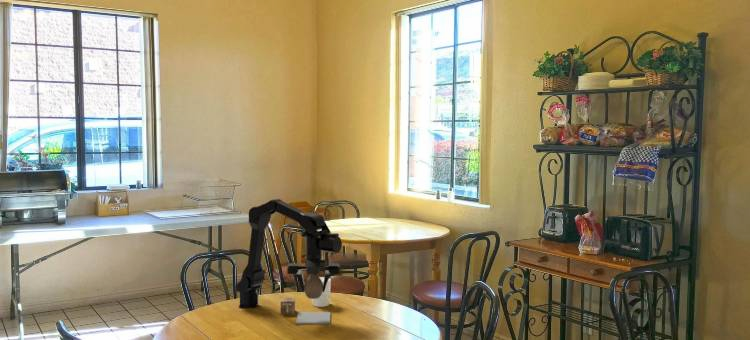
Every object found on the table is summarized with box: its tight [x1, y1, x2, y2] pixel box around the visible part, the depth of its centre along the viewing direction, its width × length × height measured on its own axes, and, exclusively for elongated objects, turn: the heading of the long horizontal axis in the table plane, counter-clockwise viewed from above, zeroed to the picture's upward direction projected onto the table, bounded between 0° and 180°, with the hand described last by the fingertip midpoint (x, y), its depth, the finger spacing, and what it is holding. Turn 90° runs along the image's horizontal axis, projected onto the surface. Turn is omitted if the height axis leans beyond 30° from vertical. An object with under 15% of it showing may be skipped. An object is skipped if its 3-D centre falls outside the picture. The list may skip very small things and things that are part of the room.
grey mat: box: [295, 311, 331, 325], centre depth 229 cm, size 12×12×1 cm
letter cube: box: [280, 297, 296, 315], centre depth 236 cm, size 5×5×5 cm
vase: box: [303, 274, 323, 300], centre depth 228 cm, size 7×7×9 cm
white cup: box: [311, 276, 332, 308], centre depth 247 cm, size 8×8×10 cm
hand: (313, 291), depth 228 cm, fingers closed on vase, 7 cm apart
